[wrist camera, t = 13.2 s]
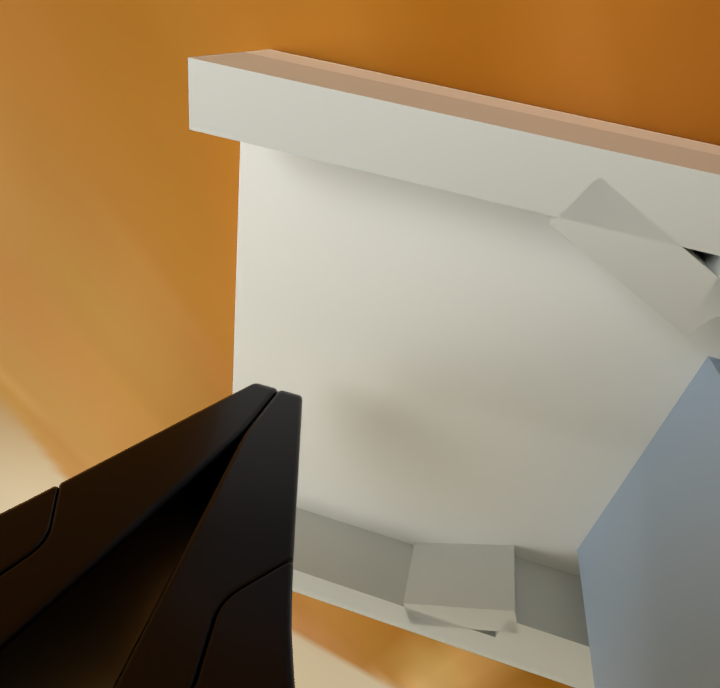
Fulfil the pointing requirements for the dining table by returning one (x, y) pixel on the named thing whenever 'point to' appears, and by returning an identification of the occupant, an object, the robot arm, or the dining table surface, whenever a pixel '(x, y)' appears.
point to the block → (661, 556)
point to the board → (460, 333)
